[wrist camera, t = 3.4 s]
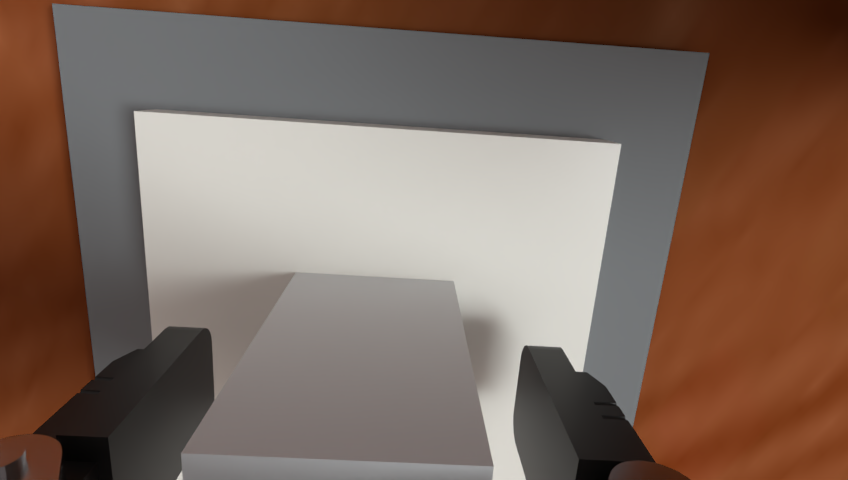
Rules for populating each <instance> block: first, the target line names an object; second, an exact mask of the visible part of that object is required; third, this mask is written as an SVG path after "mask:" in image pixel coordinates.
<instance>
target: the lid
mask: <svg viewBox="0 0 848 480" xmlns="http://www.w3.org/2000/svg"><path fill="white" fill-rule="evenodd" d="M134 121H135V134H136V146H137V158H138V171H139V183H140V195H141V207H142V220H143V232H144V244H145V257H146V269H147V281H148V293H149V306H150V318H151V330H152V341H153V340H154V339H155V338H156V337H157V336H158V335H159V334H160V333H161V332H162V331H163V330H164V329H165V328H167V327H169V326H176V327H195V328H207V329H208V330H209V331H210V333H211V338H212V353H213V375H214V402H213V404H212V405H211V407H210V408H209V410H208V411H207V413H206V415H205V416H204V418H203V419H202V421H201V423H200V424H199V426H198V427H197V429H196V430H195V432H194V434H193V435H192V437H191V438H190V440H189V441H188V443H187V445H186V446H185V448H184V449H183V451H182V452H181V461H182V471H181V473H180V474H179V476H178V478H177V479H176V480H526V478H525V475H524V471H523V468H522V464H521V461H520V457H519V454H518V451H517V447H516V444H515V439H514V431H513V413H514V405H515V397H516V390H517V382H518V375H519V367H520V360H521V354H522V350H523V348H524V346H526V345H527V346H547V347H561V348H562V349H563V351H564V352H565V354H566V356H567V358H568V359H569V361H570V363H571V364H572V366H573V368H574V370H575V371H576V372H583V368H584V362H585V356H586V350H587V344H588V339H589V333H590V327H591V321H592V315H593V309H594V303H595V297H596V291H597V285H598V279H599V274H600V268H601V262H602V256H603V250H604V244H605V238H606V232H607V226H608V220H609V215H610V209H611V203H612V197H613V191H614V185H615V179H616V173H617V167H618V161H619V156H620V150H621V144H619V143H616V142H612V141H608V140H603V139H588V138H573V137H559V136H544V135H529V134H515V133H500V132H485V131H470V130H456V129H441V128H426V127H412V126H397V125H382V124H368V123H353V122H338V121H323V120H309V119H294V118H279V117H265V116H250V115H235V114H221V113H206V112H191V111H176V110H162V109H153V110H140V111H134Z"/></svg>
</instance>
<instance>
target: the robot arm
mask: <svg viewBox="0 0 848 480" xmlns="http://www.w3.org/2000/svg"><path fill="white" fill-rule="evenodd" d="M213 402H214V375H213V353H212V338H211V333H210V331H209V330H208V329H207V328H195V327H176V326H169V327H167V328H165V329H164V330H163V331H162V332H161V333H160V334H159V335H158V336H157V337H156V338H155V339H154V340H153V341H152V342H151V343H150V344H149V345H148V346H147V347H146V348H145V349H136V350H134V351H132V352H130V353H128V354H126V355H124V356H122V357H120V358H118V359H116V360H114V361H112V362H111V363H110V364H109V365H108V366H107V367H105V368H104V369H103V370H102V371H101V372H100V373H99V374H98V375H97V376H96V377H95V380H91V381H90V382H89V383H88V384H87V385H86V386H85V387H83V388H82V389H81V392H80V393H77V394H76V395H75V396H74V397H72V398H71V399H70V400H69V401H68V402H67V403H66V404H65V405H64V406H63V407H61V408H60V409H59V410H58V411H57V412H56V413H55V414H54V415H53V416H51V417H50V418H49V419H48V420H47V421H46V422H45V423H44V424H43V425H42V426H40V427H39V428H38V429H37V430H36V431H35V432H34V433H33V434H25V435H16V436H10V437H6V438H2V439H0V480H176V479H177V478H178V476H179V474H180V473H181V471H182V461H181V452H182V451H183V449H184V448H185V446H186V445H187V443H188V441H189V440H190V438H191V437H192V435H193V434H194V432H195V430H196V429H197V427H198V426H199V424H200V423H201V421H202V419H203V418H204V416H205V415H206V413H207V411H208V410H209V408H210V407H211V405H212V404H213ZM513 431H514V439H515V444H516V447H517V451H518V454H519V457H520V461H521V464H522V468H523V471H524V475H525V478H526V480H690V479H689V478H688V477H686V476H685V475H683V474H681V473H680V472H678V471H676V470H673V469H671V468H669V467H666V466H664V465H661V464H657V463H656V462H655V461H654V459H653V458H652V456H651V455H650V453H649V452H648V450H647V449H646V447H645V446H644V444H643V443H642V441H641V439H640V438H639V436H638V435H637V433H636V432H635V430H634V429H633V427H632V426H631V424H630V423H629V421H628V420H626V419H625V415H624V414H623V412H622V410H621V409H620V407H619V406H617V405H616V401H615V400H614V398H613V397H612V395H611V394H610V392H609V391H608V389H607V388H606V386H604V385H603V384H602V383H601V382H599V381H598V380H597V379H595V378H594V377H593V376H591V375H590V374H589V373H587V372H576V371H575V370H574V368H573V366H572V364H571V363H570V361H569V359H568V358H567V356H566V354H565V352H564V351H563V349H562V348H561V347H547V346H527V345H526V346H524V348H523V350H522V354H521V360H520V367H519V375H518V382H517V390H516V397H515V405H514V413H513Z"/></svg>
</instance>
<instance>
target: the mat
mask: <svg viewBox="0 0 848 480" xmlns="http://www.w3.org/2000/svg"><path fill="white" fill-rule="evenodd" d="M52 8H53V16H54V25H55V33H56V42H57V51H58V59H59V68H60V76H61V85H62V93H63V102H64V111H65V119H66V128H67V136H68V145H69V154H70V162H71V171H72V179H73V188H74V196H75V205H76V214H77V222H78V231H79V239H80V248H81V256H82V265H83V274H84V282H85V291H86V299H87V308H88V317H89V325H90V334H91V342H92V351H93V359H94V368H95V377H96V376H97V375H98V374H99V373H100V372H101V371H102V370H103V369H104V368H105V367H107V366H108V365H109V364H110V363H111V362H112V361H114V360H116V359H118V358H120V357H122V356H124V355H126V354H128V353H130V352H132V351H134V350H136V349H145V348H146V347H147V346H148V345H149V344H150V343H151V342H152V330H151V318H150V306H149V293H148V281H147V269H146V257H145V244H144V232H143V220H142V207H141V195H140V183H139V171H138V158H137V146H136V134H135V121H134V111H140V110H153V109H162V110H176V111H191V112H206V113H221V114H235V115H250V116H265V117H279V118H294V119H309V120H323V121H338V122H353V123H368V124H382V125H397V126H412V127H426V128H441V129H456V130H470V131H485V132H500V133H515V134H529V135H544V136H559V137H573V138H588V139H603V140H608V141H612V142H616V143H619V144H621V150H620V156H619V161H618V167H617V173H616V179H615V185H614V191H613V197H612V203H611V209H610V215H609V220H608V226H607V232H606V238H605V244H604V250H603V256H602V262H601V268H600V274H599V279H598V285H597V291H596V297H595V303H594V309H593V315H592V321H591V327H590V333H589V339H588V344H587V350H586V356H585V362H584V368H583V372H587V373H589V374H590V375H591V376H593V377H594V378H595V379H597V380H598V381H599V382H601V383H602V384H603V385H604V386H606V388H607V389H608V391H609V392H610V394H611V395H612V397H613V398H614V400H615V401H616V405H617V406H619V407H620V409H621V410H622V412H623V414H624V415H625V419H626V420H628V421H629V423H630V424H631V426H632V427H633V424H634V419H635V414H636V409H637V404H638V399H639V394H640V389H641V385H642V380H643V375H644V370H645V365H646V360H647V355H648V351H649V346H650V341H651V336H652V331H653V326H654V321H655V316H656V312H657V307H658V302H659V297H660V292H661V287H662V282H663V277H664V273H665V268H666V263H667V258H668V253H669V248H670V243H671V238H672V234H673V229H674V224H675V219H676V214H677V209H678V204H679V200H680V195H681V190H682V185H683V180H684V175H685V170H686V165H687V161H688V156H689V151H690V146H691V141H692V136H693V131H694V126H695V122H696V117H697V112H698V107H699V102H700V97H701V92H702V87H703V83H704V78H705V73H706V68H707V63H708V58H709V53H702V52H689V51H675V50H662V49H649V48H635V47H622V46H609V45H596V44H582V43H569V42H556V41H542V40H529V39H516V38H503V37H489V36H476V35H463V34H449V33H436V32H423V31H410V30H396V29H383V28H370V27H356V26H343V25H330V24H317V23H303V22H290V21H277V20H263V19H250V18H237V17H223V16H210V15H197V14H184V13H170V12H157V11H144V10H130V9H117V8H104V7H91V6H77V5H64V4H52Z"/></svg>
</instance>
